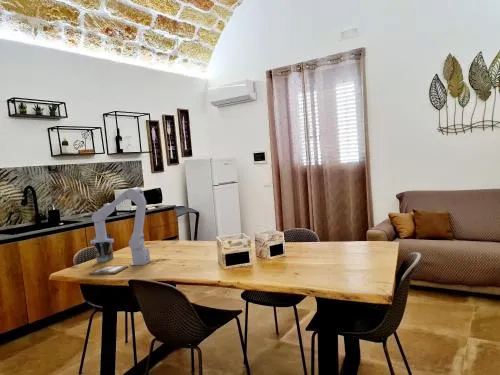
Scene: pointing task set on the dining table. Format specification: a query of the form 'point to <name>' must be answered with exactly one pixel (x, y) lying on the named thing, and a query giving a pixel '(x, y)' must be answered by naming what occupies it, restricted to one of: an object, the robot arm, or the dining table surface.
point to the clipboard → (109, 270)
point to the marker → (104, 257)
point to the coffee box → (110, 252)
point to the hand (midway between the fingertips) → (104, 255)
